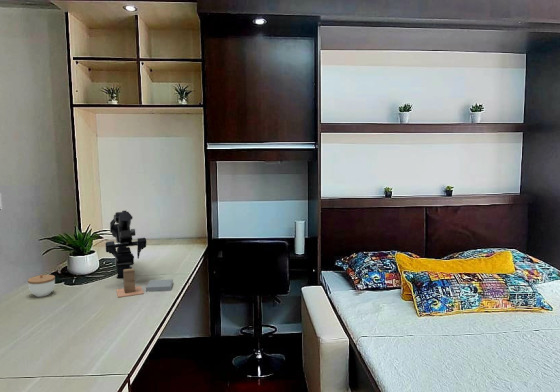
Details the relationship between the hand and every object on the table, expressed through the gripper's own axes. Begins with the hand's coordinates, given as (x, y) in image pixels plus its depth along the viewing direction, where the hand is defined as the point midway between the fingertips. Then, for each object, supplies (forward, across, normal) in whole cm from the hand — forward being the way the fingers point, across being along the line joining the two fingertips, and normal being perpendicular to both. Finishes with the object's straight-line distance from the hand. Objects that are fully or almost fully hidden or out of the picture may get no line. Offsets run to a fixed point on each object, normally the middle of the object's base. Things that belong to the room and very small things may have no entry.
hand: (128, 259), depth 193 cm
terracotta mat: (+15, -1, +3) cm, 16 cm away
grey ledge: (+15, +13, +4) cm, 20 cm away
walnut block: (+15, -1, +3) cm, 15 cm away
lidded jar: (+5, -37, +13) cm, 40 cm away
